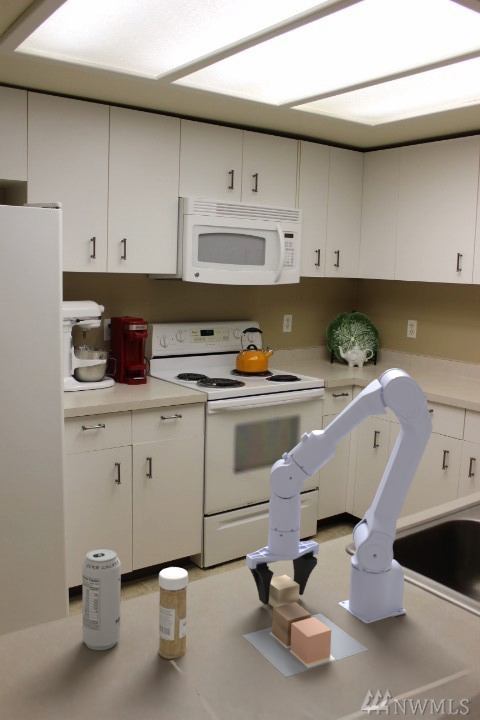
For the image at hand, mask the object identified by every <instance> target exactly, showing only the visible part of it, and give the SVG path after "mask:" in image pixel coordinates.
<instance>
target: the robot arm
mask: <svg viewBox="0 0 480 720" xmlns="http://www.w3.org/2000/svg"><path fill="white" fill-rule="evenodd" d="M386 408H389V409H390V411H392V413H394V415H395V416H396V418H397V420H398V422H399V425H400V429H399V433H398V436H397V438H396V441H395V443H394V446H393V449H392V452H391V454H390V456H389V459H388V461H387V464H386V467H385V469H384V472H383V475H382V477H381V480H380V483H379V486H378V487H377V490H376V493H375V496H374V499H373V501H372V503H371V506H370V507H369V508H368V509H367V510H366V511H365V514H364V516H363V518H362V519H361V520H360V521H359V522H358V523H357V524H356V525H355V526H354V528H353V530H352V534H351V535H352V536H351V537H352V541H353V544H354V546H355V552H354V554H353V555H352V556H351V557H350V571H349V573H350V574H349V588H348V589H349V592H348V593H349V594H348V599H347V600H344V601H341V602H338V605H339V606H340V607H341V608H343V609H344V610H346V611H347V612H349V613H350V614H351V615H353V617H356V618H357V619H358V620H360V621H361V622H362V623H365V624H370V623H374V622H377V621H379V620H383V619H387V618H389V617H397V616H400V615H403V614H406V612H407V610H406V609H405V608H403V606H404V605H403V604H404V592H405V591H404V590H405V589H404V588H405V576H404V571H403V568H402V566H401V564H400V563H399V562H398V561H397V560H396V559H394V550H393V545H394V542H395V539H396V535H397V534H396V533H397V532H396V531H397V524H398V523H397V522H398V519H399V517H400V513H401V511H402V509H403V506H404V504H405V502H406V499H407V496H408V494H409V492H410V488H411V486H412V483H413V481H414V479H415V476H416V473H417V471H418V467H419V465H420V463H421V460H422V457H423V456H424V453H425V450H426V447H427V445H428V442H429V440H430V437H431V435H432V432H433V424H432V423H433V422H432V419H431V414H430V410H429V405H428V399H427V394H426V392H425V391H424V390H423V389H422V387H421V385H420V384H419V382H418V381H417V380H416V379H414V378H413V377H412V376H411V375H410V374H409V373H408V372H407V371H405V370H404V369H401V368H390V369H387V370H385V371H384V372H383V373H382V374H381V375H380V376H379V378H378V379H377V378H376V379H373V381H371V382H370V383H369V384H368V385H366V387H365V388H364V389H363V390H361V391H360V392H359V394H358V395H357V396H356V397H355V398H354V399H353V400H352V401H351V402H350V403H349V404H348V405H347V406H346V407H345V408H343V410H342V411H341V412H340V413H339V414H338V415H337V416H336V417H335V418H334V419H332V421H331V422H330V423H328V425H327V426H326V427H325V428H324V429H318V430H317V429H316V430H311V432H309V433H307V432H304V433H303V434H301V436H300V442H299V443H298V444H297V445H295V446H294V447H293V448H292V449H291V450H290V451H289V452H284V453H283V454H282V456H281V458H282V459H281V458H280V459H278V460H277V461H276V462H275V463H274V464H273V465H272V467H271V470H270V471H269V475H270V476H269V486H270V489H271V490H270V492H269V497H270V499H269V502H268V504H269V505H268V527H267V528H268V529H267V546H264V547H262V548H261V549H258V550H256V551H254V552H251V553H248V554H245V556H246V557H245V558H246V559H245V565H246V566H247V567H248V569H249V570H250V573H251V574H252V577H253V579H254V581H255V586H256V589H257V595H258V600H259V601H260V602H261V603H262V604H263V605H269V603H268V602H269V593H270V584H271V579H272V578H273V576H274V574H275V573H274V571H273V570H271V569H270V567H269V566H268V564H271V563H277V562H281V561H282V562H283V561H292V566H293V581H295V582H296V583H298V584H299V596H302V595H304V593H305V589H306V587H307V584H308V580H309V578H310V576H311V574H312V572H313V571H314V569H315V567H316V566H317V565H318V558H317V557H316V555H319V551H320V550H319V546H320V545H319V543H318V542H316V541H314V540H309V541H308V540H307V541H300V537H301V536H300V535H301V518H302V517H301V515H302V514H301V513H302V512H301V511H302V502H301V500H300V499H301V498H300V497H301V492H302V491H303V488H304V481H305V480H307V479H309V478H311V477H312V476H313V475H314V474H315V473H317V472H318V471H319V470H320V469H321V468H322V467H323V466H325V464H326V463H327V462H329V460H331V459H332V458H333V457H334V456H335V455H336V445H337V444H338V443H339V442H341V440H342V439H344V438H345V437H346V436H347V435H348V434H349V433H351V432H352V431H353V430H354V429H355V428H357V427H358V426H359V425H360V424H362V422H363V421H365V420H366V419H367V418H368V417H370V416H378V415H379V416H380V415H387V414H388V411H387V410H386ZM314 555H315V556H314Z"/></svg>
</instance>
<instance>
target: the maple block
mask: <svg viewBox="0 0 480 720" xmlns="http://www.w3.org/2000/svg"><path fill="white" fill-rule="evenodd" d="M299 601H300V595H299V584H298V583H296V582H295V581H294V579H292V578H291V577H289V576H288V575H287V574H283V575H280V576H275V577H272V579H271V584H270V593H269V602H268V605H269V606H270V605H271V607H272V608H275V607H279V606H283V605H286V604H290V603H294V602H296V603H297V604H299V603H300V602H299ZM299 605H300V604H299Z"/></svg>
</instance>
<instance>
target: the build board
mask: <svg viewBox="0 0 480 720" xmlns="http://www.w3.org/2000/svg"><path fill="white" fill-rule="evenodd" d="M312 617H315V618H317V619H318V620H319V621H321V622H322V623H323V624H324V625H326V626H327V627H328V628H330V629H331V649H330V657H327V658H324V659H321V660H318V661H315V662H312V663H309V664H306V663H305V662H304V661H303V660H302V659H300V658H299V657H298V656H297V655H296V654H295V653H294V652H293V651H291V650H290V649H291V646H288V647H287V646H286V645H285V644H284V643H282V642H281V641H280V640H279V639H278V638H277V637H276V636H275V635H273V634H272V626H271V627H267V628H264V629H260V630H256V631H253V632H249V633H246V634H242V637H243V638H244V639H245V640H246V641H247V642H248V643H249V644H250V645H251V646H253V647H254V648H255V650H257V651H258V652H259V653H260V654H261V655H262V656H263V657H264V658H265V659H266V660H267V661H268V662H269V663H270V664H271V665H272V666H273V667H274V668H275V669H276V670H277V671H278V672H279V673H280V674H281V675H282V676H284V677H285V678H289V677H291V676H294V675H297V674H300V673H303V672H304V673H305V672H307V671H310V670H312V669H315V668H319V667H321V666H325V665H328V664H331V663H334V662H337V661H340V660H343V659H345V658H349V657H352V656H354V655H357V654H361V653H364V652H367V651H369V649H368V648H367V647H365V646H364V645H363V644H362V643H360V642H359V641H357V640H356V639H355V638H354V637H352V636H350V634H348V633H347V632H345V631H344V630H343V629H341V628H340V627H339V626H338V625H336V624H335V623H334V622H333V621H331V620H330V619H329V618H327V617H326V616H324V615H323V614H322V613H317V614H314V615H312V614H311V618H312Z"/></svg>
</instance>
